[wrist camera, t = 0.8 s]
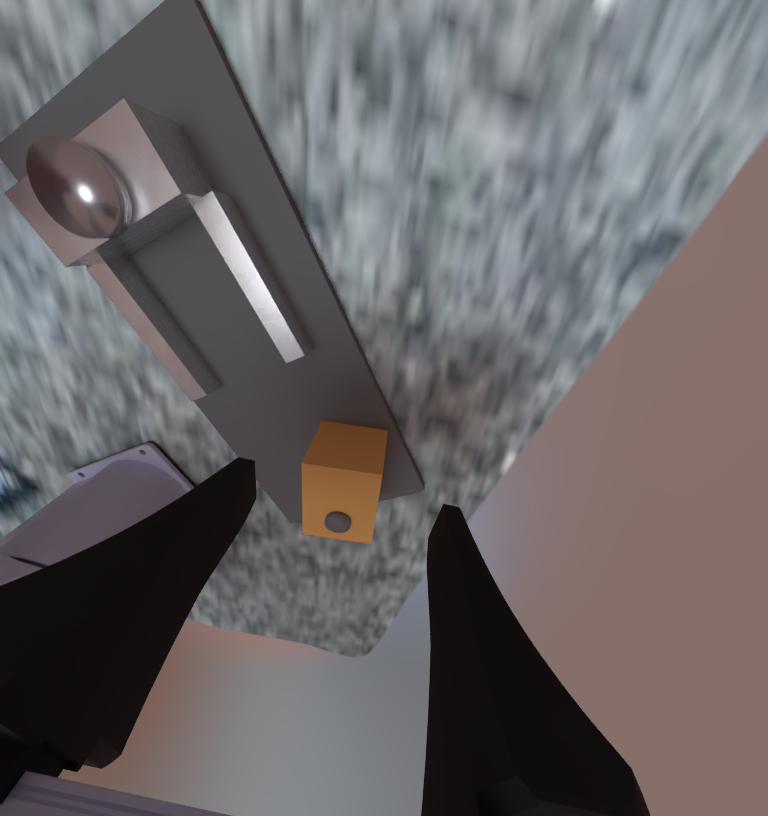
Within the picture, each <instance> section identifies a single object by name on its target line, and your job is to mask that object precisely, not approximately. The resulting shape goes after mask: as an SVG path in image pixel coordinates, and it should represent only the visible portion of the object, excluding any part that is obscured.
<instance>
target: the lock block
mask: <svg viewBox="0 0 768 816" xmlns="http://www.w3.org/2000/svg"><path fill="white" fill-rule="evenodd" d="M387 433H388V430H382V429H375V428H368V427H362V426H355V425H348V424H341V423H335V422H328V421H321V424H320V426H319V428H318V430H317V432H316V434H315V436H314V438H313V440H312V442H311V445H310V447H309V449H308V451H307V453H306V455H305V457H304V459H303V461H302V523H303V534H307V535H313V536H320V537H327V538H334V539H340V540H347V541H354V542H360V543H367V544H371V543H372V537H373V530H374V524H375V518H376V512H377V506H378V500H379V494H380V488H381V482H382V476H383V468H384V459H385V450H386V442H387Z"/></svg>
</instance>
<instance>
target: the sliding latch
mask: <svg viewBox="0 0 768 816" xmlns="http://www.w3.org/2000/svg"><path fill="white" fill-rule="evenodd" d="M26 167H27V173H28V175H26V176H25V177H24V178H23V179H21V180H20V181H19V182H18V183H16V184H15V185H14V186H13V187H11V188H10V189H9V190H8V191H6V192H5V194H6V196H7V197H8V198H9V199H10V200H11V202H12V203H13V204H14V205H15V206H16V208H17V209H18V210H19V211H20V213H21V214H22V215H23V216H24V217H25V219H26V220H27V221H28V222H29V223H30V225H31V226H32V227H33V228H34V229H35V231H36V232H37V233H38V234H39V235H40V237H41V238H42V239H43V240H44V242H45V243H46V244H47V245H48V246H49V248H50V249H51V250H52V251H53V252H54V254H55V255H56V256H57V257H58V258H59V260H60V261H61V262H62V263H63V265H64V266H65V267H71V266H82V265H92V264H93V265H92V266H90V267H88V268H87V269H86V270H87V271H88V272H89V273H90V275H91V276H92V277H93V278H94V280H95V281H96V282H97V283H98V285H99V286H100V287H101V288H102V290H103V291H104V292H105V293H106V295H107V296H108V297H109V298H110V300H111V301H112V302H113V303H114V305H115V306H116V307H117V308H118V310H119V311H120V312H121V313H122V315H123V316H124V317H125V318H126V320H127V321H128V322H129V323H130V325H131V326H132V327H133V328H134V330H135V331H136V332H137V333H138V335H139V336H140V337H141V338H142V340H143V341H144V342H145V343H146V345H147V346H148V347H149V348H150V350H151V351H152V352H153V353H154V355H155V356H156V357H157V358H158V360H159V361H160V362H161V363H162V365H163V366H164V367H165V368H166V370H167V371H168V372H169V373H170V375H171V376H172V377H173V378H174V380H175V381H176V382H177V383H178V385H179V386H180V387H181V388H182V390H183V391H184V392H185V393H186V395H187V396H188V397H189V398H190V400H191V401H194V400H196V399H199V398H201V397H204V396H206V395H208V394H209V393H210V392H212V391H213V390H214V389H215V388H217V387H218V386H219V385H220V384H221V383H220V381H219V380H218V379H217V377H216V376H215V375H214V373H213V372H212V370H211V369H210V368H209V366H208V365H207V364H206V362H205V361H204V359H203V358H202V357H201V355H200V354H199V353H198V351H197V350H196V348H195V347H194V346H193V344H192V343H191V342H190V340H189V339H188V337H187V336H186V335H185V333H184V332H183V331H182V329H181V328H180V326H179V325H178V324H177V322H176V321H175V320H174V318H173V317H172V315H171V314H170V313H169V311H168V310H167V309H166V307H165V306H164V304H163V303H162V302H161V300H160V299H159V298H158V296H157V295H156V293H155V292H154V291H153V289H152V288H151V287H150V285H149V284H148V282H147V281H146V280H145V278H144V277H143V276H142V274H141V273H140V271H139V270H138V269H137V267H136V266H135V265H134V263H133V262H132V260H131V259H130V258H129V256H131V255H132V254H134V253H136V252H137V251H139V250H141V249H142V248H144V247H146V246H147V245H149V244H151V243H152V242H154V241H156V240H157V239H159V238H161V237H162V236H164V235H165V234H167V233H169V232H170V231H172V230H174V229H175V228H177V227H179V226H180V225H182V224H184V223H185V222H187V221H189V220H190V219H192V218H194V217H195V216H197V215H198V216H199V218H200V220H201V221H202V223H203V225H204V226H205V228H206V230H207V231H208V233H209V235H210V236H211V238H212V240H213V241H214V243H215V245H216V246H217V248H218V250H219V251H220V253H221V255H222V257H223V258H224V260H225V262H226V263H227V265H228V267H229V268H230V270H231V272H232V273H233V275H234V277H235V278H236V280H237V282H238V283H239V285H240V287H241V288H242V290H243V292H244V293H245V295H246V297H247V298H248V300H249V302H250V303H251V305H252V307H253V308H254V310H255V312H256V313H257V315H258V317H259V318H260V320H261V322H262V323H263V325H264V327H265V328H266V330H267V332H268V333H269V335H270V337H271V338H272V340H273V342H274V343H275V345H276V347H277V349H278V350H279V352H280V354H281V355H282V357H283V359H284V360H285V362H286V363H288V362H290V361H293V360H295V359H298V358H300V357H303V356H305V355H306V354H307V352H308V351H309V350H310V349H311V348H312V347H313V346H312V344H311V342H310V340H309V338H308V336H307V335H306V333H305V331H304V329H303V327H302V325H301V323H300V322H299V320H298V318H297V316H296V314H295V312H294V310H293V309H292V307H291V305H290V303H289V301H288V299H287V297H286V296H285V294H284V292H283V290H282V288H281V286H280V285H279V283H278V281H277V279H276V277H275V275H274V273H273V272H272V270H271V268H270V266H269V264H268V262H267V260H266V259H265V257H264V255H263V253H262V251H261V249H260V247H259V246H258V244H257V242H256V240H255V238H254V236H253V235H252V233H251V231H250V229H249V227H248V225H247V223H246V222H245V220H244V218H243V216H242V214H241V212H240V210H239V209H238V207H237V205H236V203H235V201H234V199H233V197H232V196H231V195H230V194H225V193H220V192H217V190H216V189H215V187H214V185H213V183H212V181H211V180H210V178H209V176H208V174H207V172H206V171H205V169H204V167H203V165H202V163H201V162H200V160H199V158H198V156H197V154H196V153H195V151H194V149H193V147H192V145H191V144H190V142H189V140H188V138H187V136H186V135H185V133H184V131H183V129H182V127H181V126H180V124H178V123H176V122H174V121H172V120H170V119H168V118H165V117H163V116H161V115H159V114H157V113H155V112H153V111H151V110H149V109H147V108H144V107H142V106H140V105H138V104H136V103H134V102H132V101H130V100H128V99H126V98H123V99H122V100H121V101H119V102H118V103H117V104H116V105H114V106H113V107H112V108H111V109H109V110H108V111H107V112H106V113H104V114H103V115H102V116H101V117H99V118H98V119H97V120H95V121H94V122H93V123H92V124H90V125H89V126H88V127H87V128H85V129H84V130H83V131H82V132H80V133H79V134H78V135H77V136H75V137H74V138H73V139H72V140H69V139H66V138H62V137H58V136H51V135H48V136H42V137H39V138H38V139H36V140H35V141H34V142H33V143H32V144H31V146H30V147H29V150H28V153H27V158H26Z"/></svg>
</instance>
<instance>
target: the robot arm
mask: <svg viewBox="0 0 768 816" xmlns="http://www.w3.org/2000/svg"><path fill="white" fill-rule="evenodd" d="M68 478H69V479H70V480H71V481H73V482H74V483H75V485H73V486H72V487H71V488H69V489H68V490H66V491H65V492H64V493H62V494H61V495H60V496H58V497H57V498H56V499H54V500H53V501H52V502H50V503H49V504H48V505H46V506H45V507H44V508H42V509H41V510H40V511H38V512H37V513H36V514H34V515H33V516H32V517H30V518H29V519H28V520H26V521H25V522H24V523H22V524H21V525H19V526H18V527H17V528H15V529H14V530H13V531H11V532H10V533H9V534H7V535H6V536H5V537H3V538H2V539H1V540H0V816H230V815H226V814H221V813H216V812H212V811H208V810H203V809H198V808H194V807H189V806H185V805H180V804H175V803H171V802H166V801H161V800H157V799H153V798H148V797H143V796H139V795H134V794H130V793H125V792H120V791H116V790H111V789H107V788H102V787H97V786H93V785H88V784H84V783H78V782H74V781H70V780H65V779H61V778H58V776H59V775H60V773H61V772H62V770H63V769H65V770H70V771H75V772H77V771H78V770H79V769H80V768H81V767H82V765H87V766H91V767H97V768H103V767H106V766H107V765H109V764H110V763H112V762H113V761H114V760H115V759H117V758H118V757H119V756H120V755H121V754H122V751H123V749H124V747H125V745H126V742H127V740H128V738H129V736H130V733H131V731H132V729H133V727H134V725H135V723H136V720H137V718H138V716H139V714H140V712H141V710H142V707H143V705H144V703H145V701H146V698H147V696H148V694H149V692H150V690H151V688H152V686H153V684H154V682H155V680H156V678H157V676H158V674H159V672H160V670H161V668H162V665H163V663H164V661H165V659H166V657H167V655H168V653H169V651H170V649H171V647H172V645H173V643H174V641H175V639H176V637H177V635H178V634H179V632H180V630H181V628H182V626H183V624H184V622H185V620H186V618H187V616H188V614H189V612H190V611H191V609H192V607H193V605H194V603H195V601H196V599H197V597H198V595H199V594H200V592H201V590H202V589H203V587H204V585H205V584H206V582H207V580H208V579H209V577H210V576H211V574H212V573H213V571H214V569H215V568H216V566H217V565H218V563H219V562H220V560H221V559H222V557H223V556H224V554H225V552H226V551H227V549H228V548H229V546H230V545H231V543H232V542H233V540H234V538H235V537H236V535H237V534H238V532H239V531H240V529H241V527H242V526H243V524H244V522H245V520H246V518H247V516H248V514H249V512H250V510H251V508H252V506H253V504H254V502H255V500H256V473H255V461H254V460H250V459H245V458H241V457H238V458H237V459H235V460H234V461H232V462H231V463H229V464H228V465H227V466H225V467H224V468H222V469H221V470H219V471H218V472H217V473H215V474H214V475H212V476H211V477H209V478H208V479H207V480H205V481H204V482H202V483H201V484H199V485H198V486H196V487H195V488H194V487H193V486H192V484H191V483H190V482H189V481H188V480H187V479H186V478H185V477H184V476H183V475H182V474H181V473H180V472H179V471H178V469H177V468H176V467H175V466H174V465H173V464H172V463H171V462H170V461H169V460H168V459H167V458H166V457H165V456H164V455H163V453H162V452H161V451H160V450H159V449H158V448H157V447H156V446H155V445H154V444H152V443H144V444H141V445H139V446H136V447H133V448H131V449H128V450H125V451H123V452H120V453H117V454H115V455H112V456H110V457H107V458H104V459H102V460H99V461H96V462H94V463H91V464H88V465H86V466H83V467H80V468H78V469H75V470H73V471H71V472H70V473H68ZM427 578H428V598H429V616H430V639H431V640H430V641H431V653H430V685H429V707H428V708H429V709H428V726H427V744H426V761H425V774H424V788H423V801H422V813H421V816H650V813H649V811H648V808H647V805H646V803H645V800H644V797H643V794H642V792H641V790H640V787H639V785H638V783H637V780H636V778H635V776H634V773H633V771H632V769H631V767H630V766H629V765H628V764H627V763H626V762H625V760H624V759H623V758H622V757H621V756H620V754H619V753H618V752H617V751H616V750H615V749H614V747H613V746H612V745H611V744H610V743H609V742H608V741H607V739H606V738H605V737H604V736H603V735H602V733H601V732H600V731H599V730H598V729H597V727H595V725H594V724H593V723H592V722H591V721H590V719H589V718H588V717H587V716H586V714H585V713H584V712H583V711H582V709H581V708H580V707H579V705H578V704H577V703H576V702H575V700H574V699H573V698H572V697H571V695H570V694H569V693H568V692H567V690H566V689H565V688H564V686H563V685H562V684H561V682H560V681H559V679H558V678H557V677H556V675H555V674H554V673H553V671H552V670H551V669H550V667H549V666H548V665H547V663H546V662H545V660H544V659H543V658H542V656H541V655H540V654H539V652H538V651H537V649H536V648H535V647H534V645H533V643H532V642H531V640H530V639H529V638H528V636H527V634H526V633H525V631H524V630H523V628H522V627H521V625H520V624H519V622H518V620H517V619H516V617H515V616H514V614H513V613H512V611H511V609H510V607H509V606H508V604H507V602H506V601H505V599H504V597H503V595H502V594H501V592H500V590H499V588H498V587H497V585H496V583H495V581H494V579H493V577H492V575H491V574H490V572H489V570H488V568H487V566H486V564H485V562H484V560H483V558H482V556H481V554H480V552H479V549H478V547H477V545H476V543H475V541H474V539H473V537H472V534H471V532H470V530H469V528H468V525H467V523H466V521H465V518H464V516H463V514H462V511H461V509H460V508H459V507H455V506H451V505H446V504H443V506H442V508H441V510H440V513H439V515H438V517H437V519H436V522H435V524H434V526H433V528H432V530H431V533H430V535H429V537H428V551H427Z"/></svg>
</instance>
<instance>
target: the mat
mask: <svg viewBox="0 0 768 816" xmlns="http://www.w3.org/2000/svg"><path fill="white" fill-rule="evenodd" d="M123 98H126V99H128V100H130V101H132V102H134V103H136V104H138V105H140V106H142V107H144V108H147V109H149V110H151V111H153V112H155V113H157V114H159V115H161V116H163V117H165V118H168V119H170V120H172V121H174V122H176V123H178V124H180V126H181V127H182V129H183V131H184V133H185V135H186V136H187V138H188V140H189V142H190V144H191V145H192V147H193V149H194V151H195V153H196V154H197V156H198V158H199V160H200V162H201V163H202V165H203V167H204V169H205V171H206V172H207V174H208V176H209V178H210V180H211V181H212V183H213V185H214V187H215V189H216V190H217V192H220V193H225V194H230V195H231V196H232V197H233V199H234V201H235V203H236V205H237V207H238V209H239V210H240V212H241V214H242V216H243V218H244V220H245V222H246V223H247V225H248V227H249V229H250V231H251V233H252V235H253V236H254V238H255V240H256V242H257V244H258V246H259V247H260V249H261V251H262V253H263V255H264V257H265V259H266V260H267V262H268V264H269V266H270V268H271V270H272V272H273V273H274V275H275V277H276V279H277V281H278V283H279V285H280V286H281V288H282V290H283V292H284V294H285V296H286V297H287V299H288V301H289V303H290V305H291V307H292V309H293V310H294V312H295V314H296V316H297V318H298V320H299V322H300V323H301V325H302V327H303V329H304V331H305V333H306V335H307V336H308V338H309V340H310V342H311V344H312V346H313V347H312V348H311V349H310V350H309V351H308V352H307V354H306V355H305V356H303V357H300V358H298V359H295V360H293V361H290V362H288V363H286V362H285V360H284V359H283V357H282V355H281V354H280V352H279V350H278V349H277V347H276V345H275V343H274V342H273V340H272V338H271V337H270V335H269V333H268V332H267V330H266V328H265V327H264V325H263V323H262V322H261V320H260V318H259V317H258V315H257V313H256V312H255V310H254V308H253V307H252V305H251V303H250V302H249V300H248V298H247V297H246V295H245V293H244V292H243V290H242V288H241V287H240V285H239V283H238V282H237V280H236V278H235V277H234V275H233V273H232V272H231V270H230V268H229V267H228V265H227V263H226V262H225V260H224V258H223V257H222V255H221V253H220V251H219V250H218V248H217V246H216V245H215V243H214V241H213V240H212V238H211V236H210V235H209V233H208V231H207V230H206V228H205V226H204V225H203V223H202V221H201V220H200V218H199V216H198V215H197V216H195V217H194V218H192V219H190V220H189V221H187V222H185V223H184V224H182V225H180V226H179V227H177V228H175V229H174V230H172V231H170V232H169V233H167V234H165V235H164V236H162V237H161V238H159V239H157V240H156V241H154V242H152V243H151V244H149V245H147V246H146V247H144V248H142V249H141V250H139V251H137V252H136V253H134V254H132V255H131V256H129V258H130V259H131V260H132V262H133V263H134V265H135V266H136V267H137V269H138V270H139V271H140V273H141V274H142V276H143V277H144V278H145V280H146V281H147V282H148V284H149V285H150V287H151V288H152V289H153V291H154V292H155V293H156V295H157V296H158V298H159V299H160V300H161V302H162V303H163V304H164V306H165V307H166V309H167V310H168V311H169V313H170V314H171V315H172V317H173V318H174V320H175V321H176V322H177V324H178V325H179V326H180V328H181V329H182V331H183V332H184V333H185V335H186V336H187V337H188V339H189V340H190V342H191V343H192V344H193V346H194V347H195V348H196V350H197V351H198V353H199V354H200V355H201V357H202V358H203V359H204V361H205V362H206V364H207V365H208V366H209V368H210V369H211V370H212V372H213V373H214V375H215V376H216V377H217V379H218V380H219V381H220V383H221V384H220V385H219V386H218V387H217V388H215V389H214V390H213V391H212V392H210V393H209V394H208V395H206V396H204V397H201V398H199V399H196V400H194V402H195V403H196V404H197V406H198V407H199V408H200V409H201V411H202V412H203V413H204V414H205V416H206V417H207V418H208V419H209V421H210V422H211V423H212V424H213V426H214V427H215V428H216V430H217V431H218V432H219V433H220V435H221V436H222V437H223V438H224V440H225V441H226V442H227V443H228V445H229V446H230V447H231V448H232V450H233V451H234V452H235V453H236V455H237V456H238V457H241V458H245V459H250V460H254V461H255V473H256V480H257V481H258V482H259V484H260V485H261V486H262V487H263V489H264V490H265V491H266V492H267V494H268V495H269V496H270V497H271V499H272V500H273V501H274V502H275V504H276V505H277V506H278V507H279V509H280V510H281V511H282V512H283V514H284V515H285V516H286V517H287V519H288V520H289V521H290V522H291V523H293V522H297V521H301V520H302V461H303V459H304V457H305V455H306V453H307V451H308V449H309V447H310V445H311V442H312V440H313V438H314V436H315V434H316V432H317V430H318V428H319V426H320V424H321V421H328V422H335V423H341V424H348V425H355V426H362V427H368V428H375V429H382V430H388V433H387V442H386V450H385V459H384V468H383V476H382V482H381V488H380V494H379V500H378V502H379V501H383V500H387V499H391V498H395V497H399V496H403V495H407V494H411V493H415V492H419V491H424V490H425V487H424V483H423V481H422V478H421V476H420V474H419V472H418V470H417V468H416V466H415V463H414V461H413V459H412V457H411V455H410V453H409V451H408V448H407V446H406V444H405V442H404V440H403V438H402V435H401V433H400V431H399V429H398V427H397V425H396V423H395V420H394V418H393V416H392V414H391V412H390V410H389V408H388V405H387V403H386V401H385V399H384V397H383V395H382V393H381V390H380V388H379V386H378V384H377V382H376V380H375V378H374V375H373V373H372V371H371V369H370V367H369V365H368V362H367V360H366V358H365V356H364V354H363V352H362V350H361V347H360V345H359V343H358V341H357V339H356V337H355V335H354V332H353V330H352V328H351V326H350V324H349V322H348V320H347V317H346V315H345V313H344V311H343V309H342V307H341V305H340V302H339V300H338V298H337V296H336V294H335V292H334V289H333V287H332V285H331V283H330V281H329V279H328V277H327V274H326V272H325V270H324V268H323V266H322V264H321V262H320V259H319V257H318V255H317V253H316V251H315V249H314V247H313V244H312V242H311V240H310V238H309V236H308V234H307V231H306V229H305V227H304V225H303V223H302V221H301V219H300V216H299V214H298V212H297V210H296V208H295V206H294V204H293V201H292V199H291V197H290V195H289V193H288V191H287V189H286V186H285V184H284V182H283V180H282V178H281V176H280V174H279V171H278V169H277V167H276V165H275V163H274V161H273V158H272V156H271V154H270V152H269V150H268V148H267V146H266V143H265V141H264V139H263V137H262V135H261V133H260V131H259V128H258V126H257V124H256V122H255V120H254V118H253V116H252V113H251V111H250V109H249V107H248V105H247V103H246V101H245V98H244V96H243V94H242V92H241V90H240V88H239V85H238V83H237V81H236V79H235V77H234V75H233V73H232V70H231V68H230V66H229V64H228V62H227V60H226V58H225V55H224V53H223V51H222V49H221V47H220V45H219V43H218V40H217V38H216V36H215V34H214V32H213V30H212V27H211V25H210V23H209V21H208V19H207V17H206V15H205V12H204V10H203V8H202V6H201V4H200V2H199V0H165V1H164V2H163V3H161V4H160V5H159V6H158V7H157V8H156V9H154V10H153V11H152V12H151V13H150V14H149V15H148V16H146V17H145V18H144V19H143V20H142V21H141V22H140V23H138V24H137V25H136V26H135V27H134V28H133V29H131V30H130V31H129V32H128V33H127V34H126V35H125V36H123V37H122V38H121V39H120V40H119V41H118V42H116V43H115V44H114V45H113V46H112V47H111V48H110V49H108V50H107V51H106V52H105V53H104V54H103V55H102V56H100V57H99V58H98V59H97V60H96V61H95V62H93V63H92V64H91V65H90V66H89V67H88V68H87V69H85V70H84V71H83V72H82V73H81V74H80V75H79V76H77V77H76V78H75V79H74V80H73V81H72V82H70V83H69V84H68V85H67V86H66V87H65V88H64V89H62V90H61V91H60V92H59V93H58V94H57V95H56V96H54V97H53V98H52V99H51V100H50V101H49V102H47V103H46V104H45V105H44V106H43V107H42V108H41V109H39V110H38V111H37V112H36V113H35V114H34V115H33V116H31V117H30V118H29V119H28V120H27V121H26V122H24V123H23V124H22V125H21V126H20V127H19V128H18V129H16V130H15V131H14V132H13V133H12V134H11V135H9V136H8V137H7V138H6V139H5V140H4V141H3V142H1V143H0V158H1V160H2V161H3V162H4V163H5V165H6V166H7V167H8V168H9V170H10V171H11V172H12V173H13V175H14V176H15V177H16V178H17V180H18V181H20V180H21V179H23V178H24V177H25V176H26V175H28V173H27V167H26V158H27V153H28V150H29V147H30V146H31V144H32V143H33V142H34V141H35V140H36V139H38V138H39V137H42V136H48V135H51V136H58V137H62V138H66V139H69V140H72V139H73V138H74V137H75V136H77V135H78V134H79V133H80V132H82V131H83V130H84V129H85V128H87V127H88V126H89V125H90V124H92V123H93V122H94V121H95V120H97V119H98V118H99V117H101V116H102V115H103V114H104V113H106V112H107V111H108V110H109V109H111V108H112V107H113V106H114V105H116V104H117V103H118V102H119V101H121V100H122V99H123ZM92 265H93V264H92ZM92 265H86V266H87V268H88V267H90V266H92Z"/></svg>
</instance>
